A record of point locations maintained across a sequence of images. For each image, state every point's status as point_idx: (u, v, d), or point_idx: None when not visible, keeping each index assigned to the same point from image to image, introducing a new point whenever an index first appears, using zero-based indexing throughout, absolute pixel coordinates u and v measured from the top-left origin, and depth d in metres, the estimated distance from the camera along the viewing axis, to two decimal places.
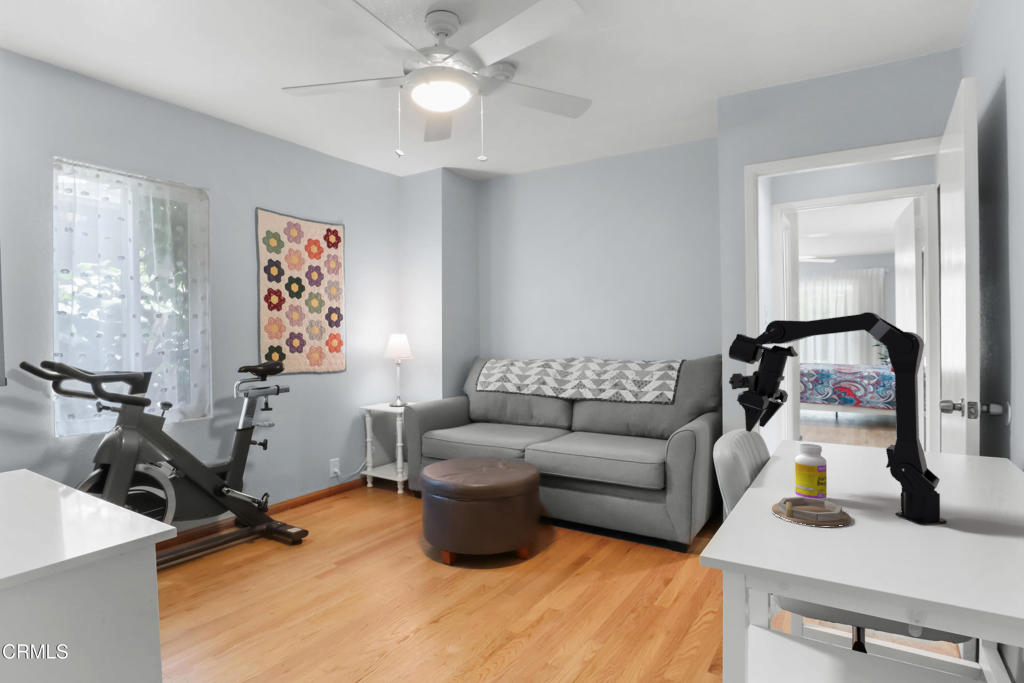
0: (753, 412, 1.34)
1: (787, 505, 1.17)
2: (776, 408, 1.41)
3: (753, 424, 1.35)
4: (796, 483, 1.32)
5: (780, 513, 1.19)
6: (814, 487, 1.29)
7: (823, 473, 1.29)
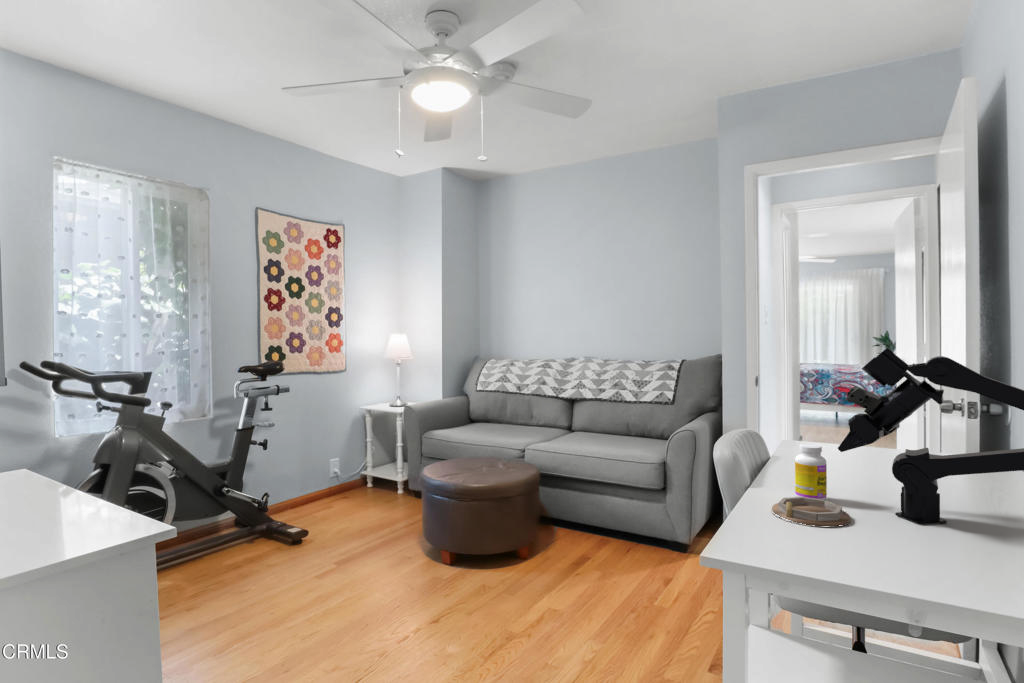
0: (857, 437, 1.20)
1: (787, 505, 1.17)
2: None
3: (850, 448, 1.21)
4: (796, 483, 1.32)
5: (780, 513, 1.19)
6: (814, 487, 1.29)
7: (823, 473, 1.29)
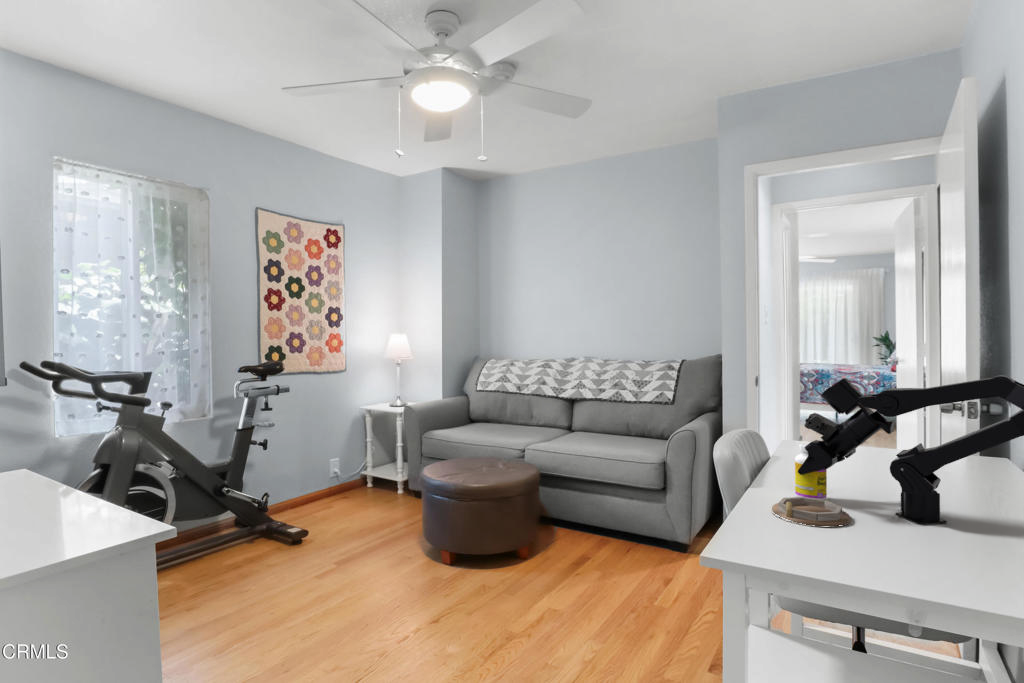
0: (815, 462, 1.27)
1: (787, 505, 1.17)
2: None
3: (808, 471, 1.28)
4: (796, 483, 1.32)
5: (780, 513, 1.19)
6: (814, 487, 1.29)
7: (823, 473, 1.29)
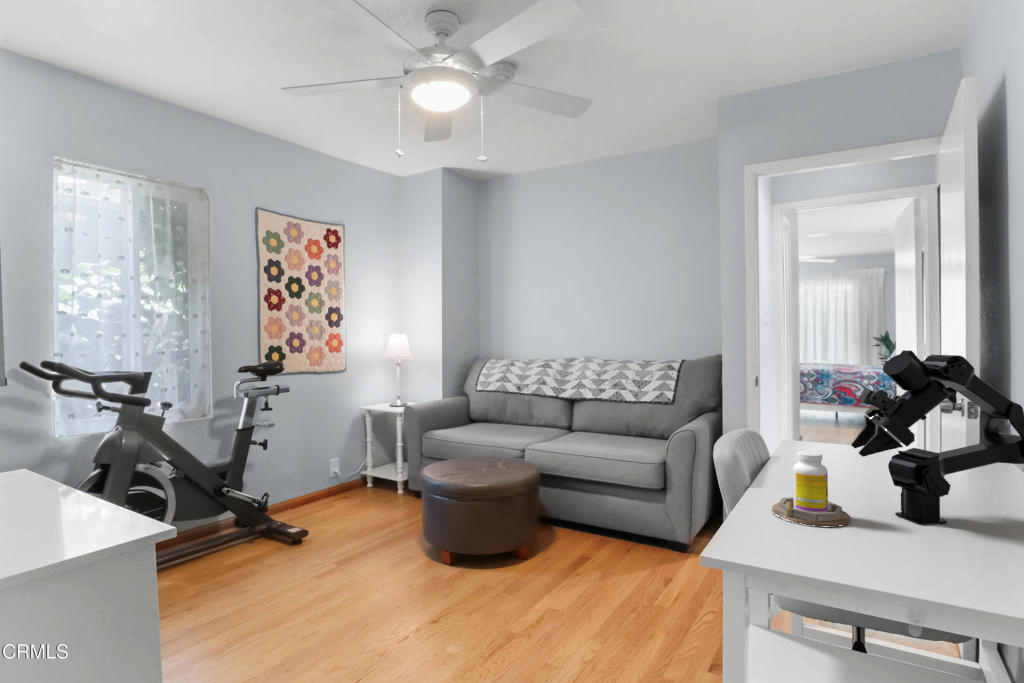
0: (883, 441, 1.15)
1: (787, 505, 1.17)
2: None
3: (874, 452, 1.16)
4: (801, 497, 1.18)
5: (780, 513, 1.19)
6: (823, 499, 1.17)
7: (827, 482, 1.19)
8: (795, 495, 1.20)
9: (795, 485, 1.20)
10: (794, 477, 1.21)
